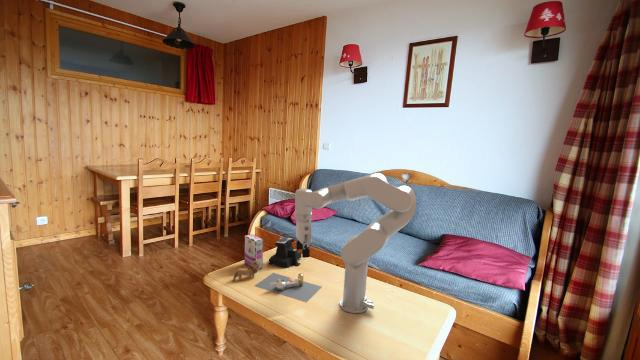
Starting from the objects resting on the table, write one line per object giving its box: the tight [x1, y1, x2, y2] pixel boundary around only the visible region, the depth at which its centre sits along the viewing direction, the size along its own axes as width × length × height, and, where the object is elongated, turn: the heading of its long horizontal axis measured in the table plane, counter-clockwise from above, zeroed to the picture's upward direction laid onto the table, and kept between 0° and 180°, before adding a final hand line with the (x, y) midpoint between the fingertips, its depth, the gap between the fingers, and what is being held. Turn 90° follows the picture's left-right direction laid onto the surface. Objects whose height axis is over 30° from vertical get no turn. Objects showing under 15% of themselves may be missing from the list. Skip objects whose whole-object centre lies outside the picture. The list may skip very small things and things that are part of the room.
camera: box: [268, 236, 302, 268], centre depth 179 cm, size 16×14×15 cm
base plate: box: [254, 272, 323, 303], centre depth 150 cm, size 28×16×1 cm, turn 64°
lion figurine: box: [231, 260, 260, 283], centre depth 155 cm, size 15×5×9 cm, turn 130°
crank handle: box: [269, 273, 305, 291], centre depth 148 cm, size 16×6×5 cm, turn 114°
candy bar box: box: [244, 233, 264, 271], centre depth 171 cm, size 11×5×16 cm, turn 44°
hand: (302, 253), depth 143 cm, fingers open, 9 cm apart
